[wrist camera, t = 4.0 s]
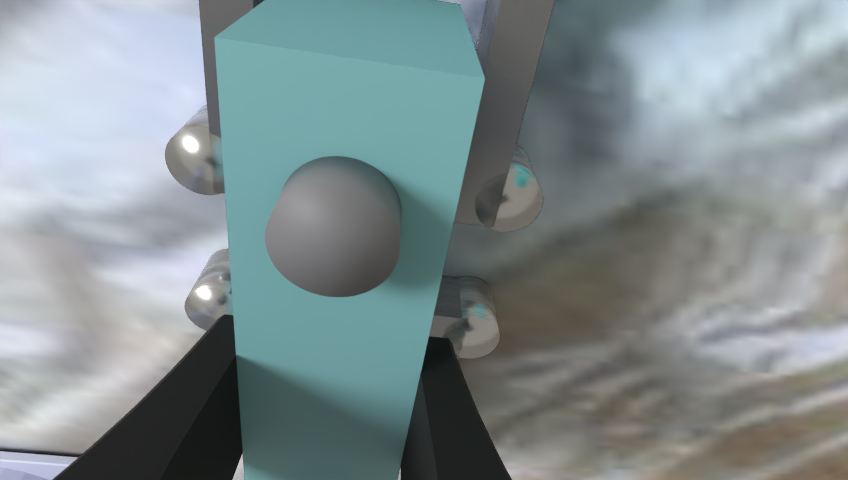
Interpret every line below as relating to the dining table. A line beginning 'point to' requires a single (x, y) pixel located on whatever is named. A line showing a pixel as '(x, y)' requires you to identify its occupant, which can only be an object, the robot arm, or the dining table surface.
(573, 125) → the dining table surface
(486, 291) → the chain end
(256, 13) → the teal studded beam
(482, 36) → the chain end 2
